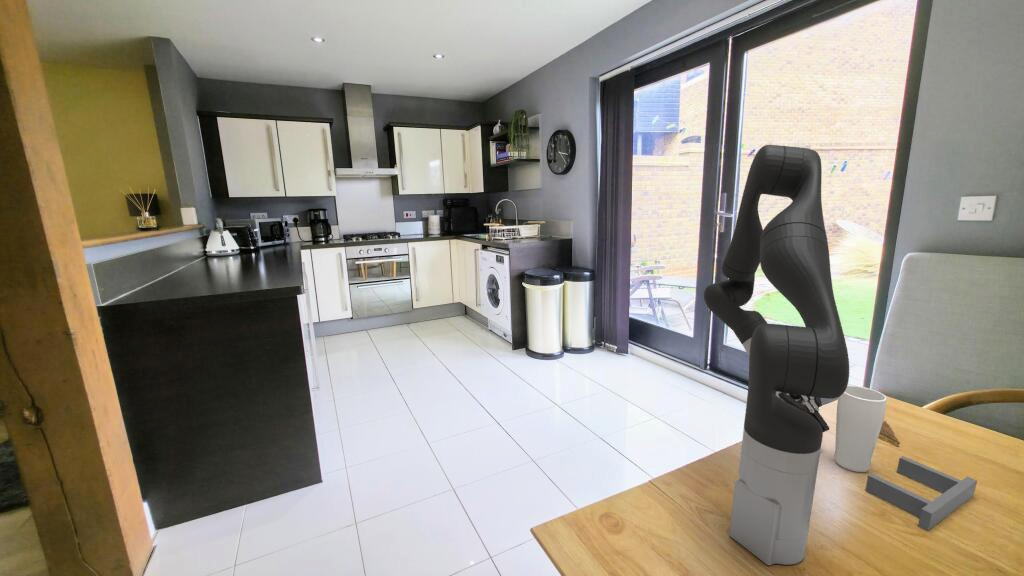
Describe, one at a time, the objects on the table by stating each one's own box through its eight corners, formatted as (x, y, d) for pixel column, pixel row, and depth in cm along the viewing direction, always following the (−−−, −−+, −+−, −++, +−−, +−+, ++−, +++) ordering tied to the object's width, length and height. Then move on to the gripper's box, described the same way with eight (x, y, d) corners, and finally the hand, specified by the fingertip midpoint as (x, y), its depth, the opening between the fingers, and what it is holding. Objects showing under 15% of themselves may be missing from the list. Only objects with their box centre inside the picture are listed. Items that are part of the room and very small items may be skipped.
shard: (899, 449, 84) (900, 442, 84) (851, 439, 88) (853, 432, 87) (885, 425, 93) (886, 418, 93) (843, 417, 97) (844, 410, 97)
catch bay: (928, 530, 62) (931, 513, 62) (858, 494, 70) (861, 479, 70) (973, 496, 70) (977, 480, 69) (905, 466, 78) (908, 452, 77)
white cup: (875, 464, 79) (888, 392, 76) (873, 481, 74) (887, 404, 71) (831, 450, 83) (841, 381, 80) (826, 465, 78) (838, 393, 75)
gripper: (764, 352, 85) (821, 434, 76) (801, 342, 91) (858, 418, 82) (738, 367, 91) (788, 445, 82) (774, 357, 96) (825, 429, 88)
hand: (823, 431), depth 82 cm, fingers closed
